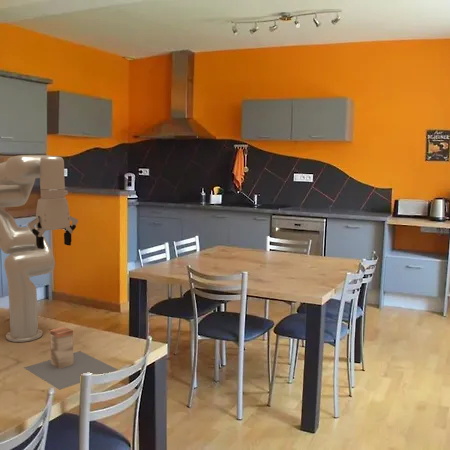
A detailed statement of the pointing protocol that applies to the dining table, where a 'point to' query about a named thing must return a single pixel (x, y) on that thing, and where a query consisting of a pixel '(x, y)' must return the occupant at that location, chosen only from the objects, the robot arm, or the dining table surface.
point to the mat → (69, 370)
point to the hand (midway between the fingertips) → (54, 246)
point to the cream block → (61, 347)
